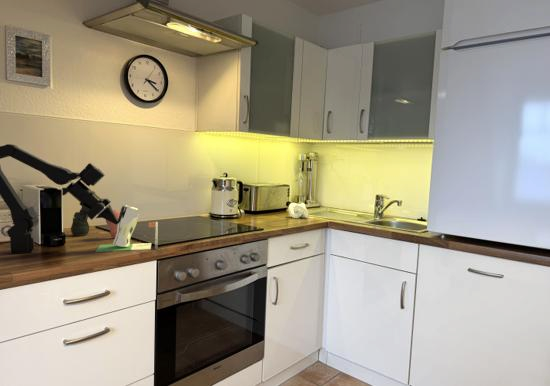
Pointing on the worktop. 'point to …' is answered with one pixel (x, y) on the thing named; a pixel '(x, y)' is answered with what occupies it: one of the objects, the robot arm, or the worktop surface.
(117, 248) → the putting mat
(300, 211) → the white lumpy piece
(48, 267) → the worktop surface
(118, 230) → the beer glass
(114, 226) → the light bulb
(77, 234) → the mate gourd
